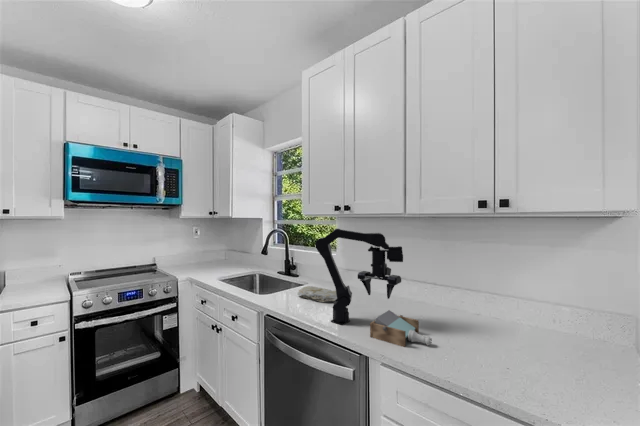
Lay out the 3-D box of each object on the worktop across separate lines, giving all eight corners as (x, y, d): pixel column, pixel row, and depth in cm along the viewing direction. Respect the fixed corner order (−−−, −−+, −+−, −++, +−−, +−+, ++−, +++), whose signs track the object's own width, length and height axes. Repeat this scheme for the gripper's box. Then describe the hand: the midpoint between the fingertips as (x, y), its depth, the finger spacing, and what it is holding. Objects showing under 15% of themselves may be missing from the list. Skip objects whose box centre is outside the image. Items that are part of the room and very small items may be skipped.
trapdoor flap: (374, 321, 114) (376, 317, 114) (387, 313, 124) (389, 309, 123) (402, 342, 107) (404, 338, 107) (413, 332, 117) (415, 328, 116)
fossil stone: (347, 300, 163) (347, 291, 163) (332, 307, 152) (332, 297, 152) (309, 292, 180) (309, 283, 180) (293, 297, 169) (293, 288, 169)
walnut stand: (369, 337, 114) (369, 322, 114) (387, 325, 126) (387, 311, 126) (403, 347, 105) (403, 331, 105) (419, 333, 117) (419, 319, 118)
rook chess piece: (410, 339, 112) (431, 345, 108) (407, 342, 109) (429, 350, 104) (411, 327, 112) (433, 334, 108) (408, 330, 109) (430, 337, 104)
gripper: (406, 261, 128) (406, 296, 128) (368, 257, 140) (368, 289, 140) (395, 264, 119) (395, 302, 119) (356, 260, 131) (356, 294, 131)
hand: (378, 296), depth 128 cm, fingers open, 9 cm apart
